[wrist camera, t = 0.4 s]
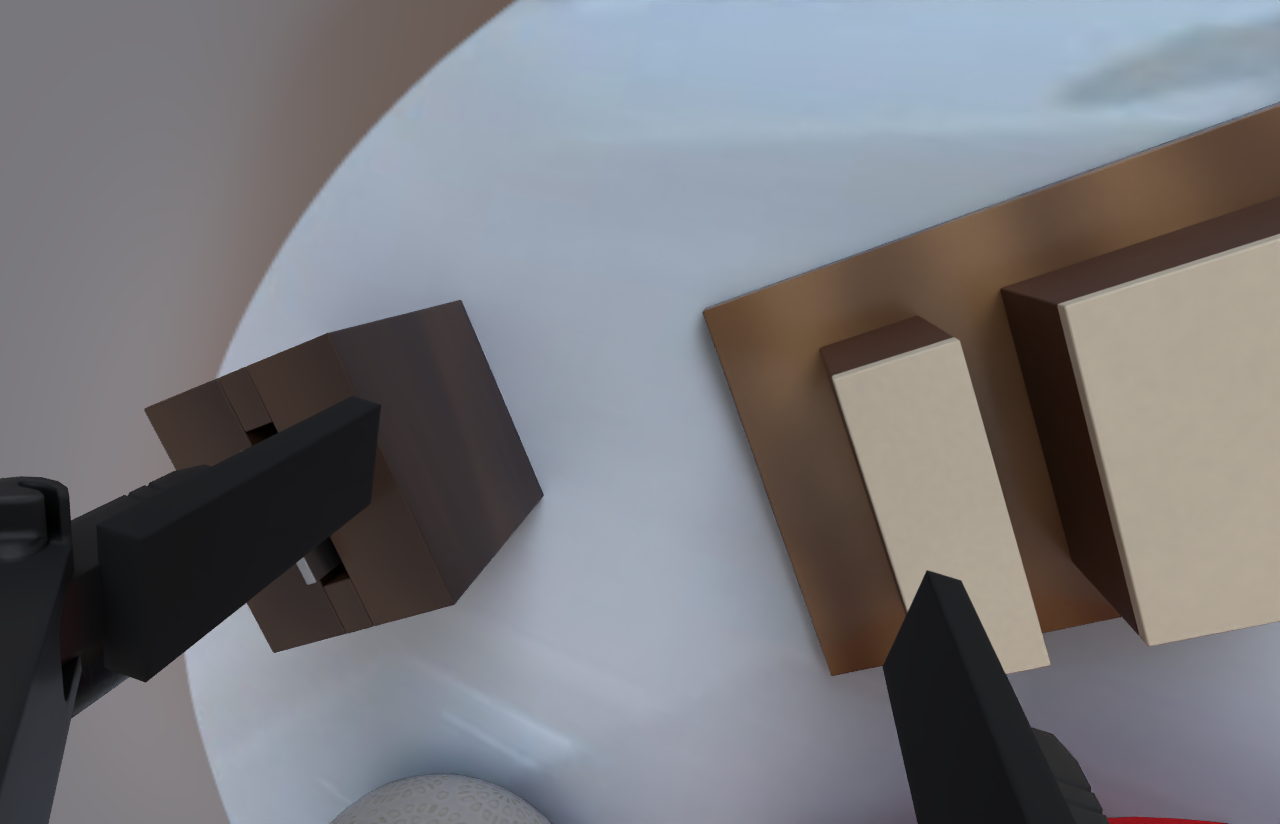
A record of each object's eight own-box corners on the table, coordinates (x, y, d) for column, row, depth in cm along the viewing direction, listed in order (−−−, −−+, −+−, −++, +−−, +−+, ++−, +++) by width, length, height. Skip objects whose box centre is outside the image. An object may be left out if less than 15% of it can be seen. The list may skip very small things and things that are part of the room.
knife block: (406, 537, 35) (273, 654, 26) (321, 355, 33) (142, 409, 24) (544, 495, 33) (454, 605, 23) (461, 299, 31) (327, 332, 22)
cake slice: (900, 601, 30) (932, 689, 24) (819, 347, 28) (832, 379, 22) (995, 580, 29) (1051, 666, 23) (918, 314, 27) (960, 339, 21)
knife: (419, 487, 33) (0, 806, 15) (375, 391, 32) (-129, 608, 14) (469, 471, 32) (91, 785, 14) (425, 372, 31) (-38, 576, 13)
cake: (1071, 562, 28) (1148, 647, 23) (998, 288, 26) (1063, 306, 20) (1356, 498, 26) (1523, 575, 20) (1303, 188, 24) (1474, 176, 18)
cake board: (829, 663, 33) (831, 676, 32) (704, 308, 29) (702, 311, 28) (1502, 522, 26) (1530, 534, 25) (1441, 43, 23) (1470, 35, 22)
